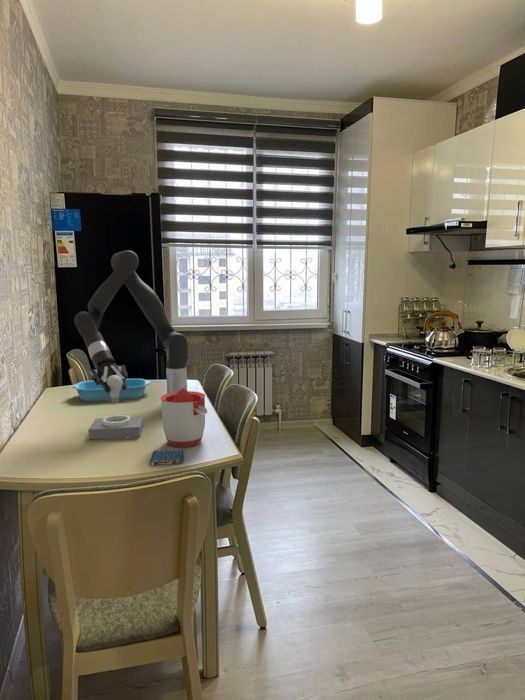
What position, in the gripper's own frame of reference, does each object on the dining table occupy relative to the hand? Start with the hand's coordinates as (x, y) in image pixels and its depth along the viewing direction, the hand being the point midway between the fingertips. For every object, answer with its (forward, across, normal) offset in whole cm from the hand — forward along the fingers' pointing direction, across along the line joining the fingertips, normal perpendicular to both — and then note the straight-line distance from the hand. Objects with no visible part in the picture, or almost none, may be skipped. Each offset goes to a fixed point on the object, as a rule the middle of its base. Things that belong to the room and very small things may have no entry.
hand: (117, 390), depth 184 cm
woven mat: (+37, -1, -13) cm, 39 cm away
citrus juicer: (+31, +12, -7) cm, 34 cm away
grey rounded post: (+3, 0, +5) cm, 6 cm away
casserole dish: (-28, +26, +52) cm, 65 cm away
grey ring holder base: (+11, 0, +13) cm, 17 cm away
